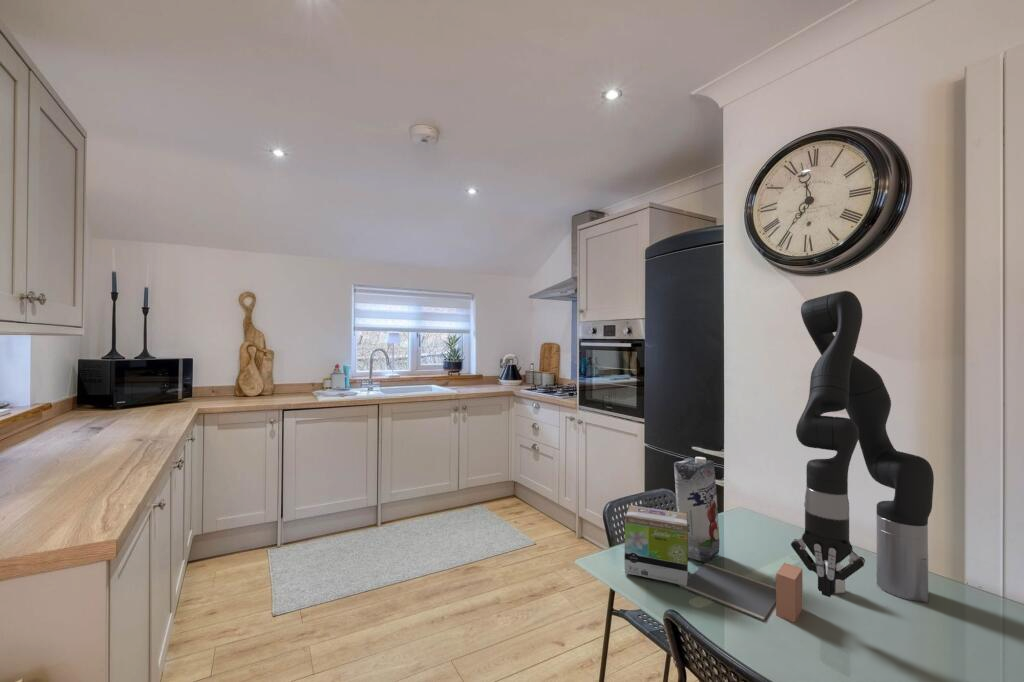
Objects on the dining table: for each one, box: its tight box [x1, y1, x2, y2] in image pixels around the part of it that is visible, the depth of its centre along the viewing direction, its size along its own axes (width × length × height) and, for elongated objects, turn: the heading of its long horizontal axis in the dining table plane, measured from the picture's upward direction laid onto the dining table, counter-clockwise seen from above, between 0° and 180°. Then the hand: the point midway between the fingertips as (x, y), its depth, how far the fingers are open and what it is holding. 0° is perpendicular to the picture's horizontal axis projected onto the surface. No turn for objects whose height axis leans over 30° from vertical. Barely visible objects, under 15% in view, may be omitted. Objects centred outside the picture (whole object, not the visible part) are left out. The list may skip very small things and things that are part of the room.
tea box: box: [623, 504, 689, 586], centre depth 110 cm, size 15×10×15 cm
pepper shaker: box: [825, 561, 846, 594], centre depth 103 cm, size 4×4×10 cm
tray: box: [679, 562, 776, 622], centre depth 103 cm, size 18×16×1 cm
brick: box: [775, 562, 803, 623], centre depth 94 cm, size 4×7×9 cm, turn 135°
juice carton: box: [673, 456, 721, 563], centre depth 121 cm, size 9×10×27 cm
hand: (826, 594), depth 89 cm, fingers closed
